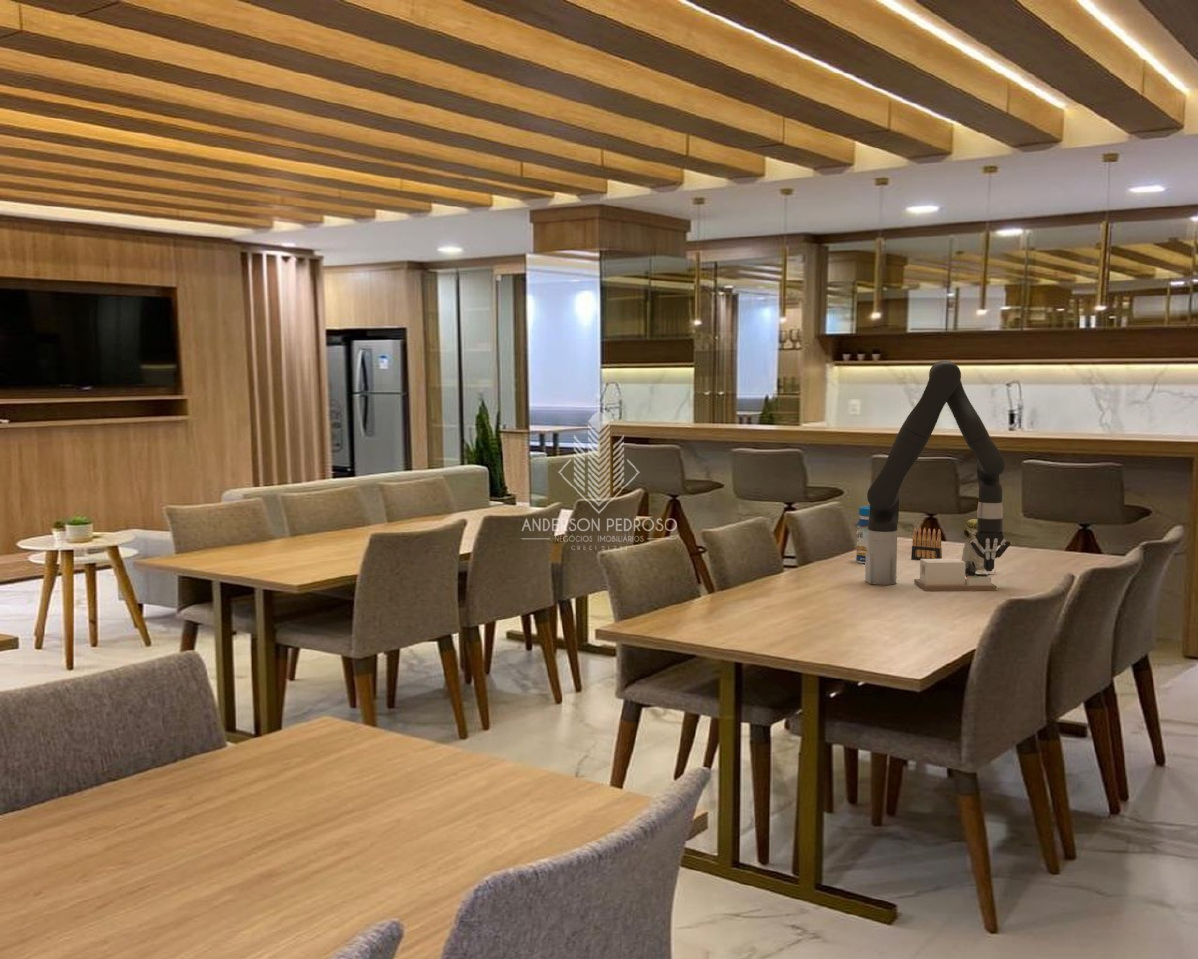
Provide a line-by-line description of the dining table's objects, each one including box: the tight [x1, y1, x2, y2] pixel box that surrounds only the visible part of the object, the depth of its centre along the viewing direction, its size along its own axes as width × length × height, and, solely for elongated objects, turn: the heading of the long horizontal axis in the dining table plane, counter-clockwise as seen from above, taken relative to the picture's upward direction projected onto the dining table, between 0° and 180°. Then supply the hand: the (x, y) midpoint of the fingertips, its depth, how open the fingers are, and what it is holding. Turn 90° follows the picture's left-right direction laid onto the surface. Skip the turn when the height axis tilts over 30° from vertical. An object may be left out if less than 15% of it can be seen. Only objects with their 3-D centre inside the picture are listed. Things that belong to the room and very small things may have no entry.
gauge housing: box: [913, 558, 998, 592], centre depth 332 cm, size 22×12×8 cm, turn 90°
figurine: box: [961, 518, 997, 577], centre depth 355 cm, size 12×13×18 cm
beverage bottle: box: [855, 505, 870, 564], centre depth 377 cm, size 8×8×20 cm
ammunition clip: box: [910, 526, 943, 561], centre depth 380 cm, size 11×2×12 cm, turn 54°
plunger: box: [965, 561, 978, 579], centre depth 330 cm, size 14×8×6 cm, turn 90°
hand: (988, 570), depth 331 cm, fingers closed
